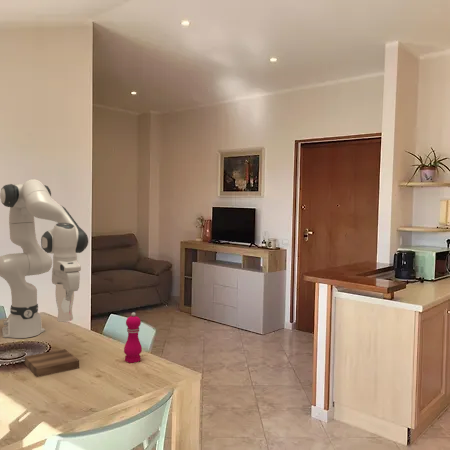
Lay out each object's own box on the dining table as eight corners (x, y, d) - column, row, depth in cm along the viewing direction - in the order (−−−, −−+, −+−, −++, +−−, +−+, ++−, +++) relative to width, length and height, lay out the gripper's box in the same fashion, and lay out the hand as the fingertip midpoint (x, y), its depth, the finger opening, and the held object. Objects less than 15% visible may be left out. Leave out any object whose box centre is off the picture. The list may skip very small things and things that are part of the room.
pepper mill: (135, 356, 197) (136, 309, 196) (145, 360, 192) (146, 312, 191) (120, 359, 192) (121, 312, 191) (130, 364, 187) (130, 315, 186)
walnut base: (24, 364, 184) (24, 356, 184) (64, 356, 194) (64, 349, 194) (37, 377, 172) (37, 369, 172) (79, 367, 182) (79, 360, 182)
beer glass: (60, 323, 181) (59, 285, 180) (53, 319, 186) (52, 282, 185) (77, 320, 186) (76, 282, 185) (70, 316, 191) (69, 280, 190)
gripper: (47, 261, 190) (47, 294, 191) (66, 268, 175) (66, 304, 176) (63, 260, 194) (62, 292, 195) (82, 267, 179) (82, 302, 180)
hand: (64, 298), depth 185 cm, fingers closed on beer glass, 7 cm apart
